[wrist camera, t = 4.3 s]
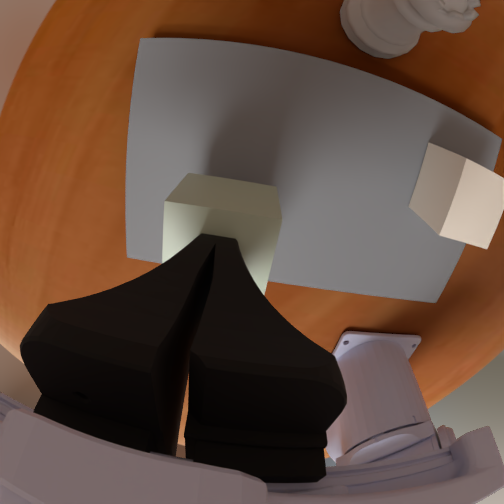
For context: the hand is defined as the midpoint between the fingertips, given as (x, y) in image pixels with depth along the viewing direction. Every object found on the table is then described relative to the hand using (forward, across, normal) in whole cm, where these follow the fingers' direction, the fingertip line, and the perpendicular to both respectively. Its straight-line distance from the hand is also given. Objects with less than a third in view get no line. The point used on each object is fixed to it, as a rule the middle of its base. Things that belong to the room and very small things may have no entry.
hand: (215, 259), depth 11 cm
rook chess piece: (+8, -6, -12) cm, 15 cm away
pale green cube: (+4, 0, 0) cm, 4 cm away
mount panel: (+7, -5, -2) cm, 9 cm away
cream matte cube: (+6, -12, -4) cm, 14 cm away
